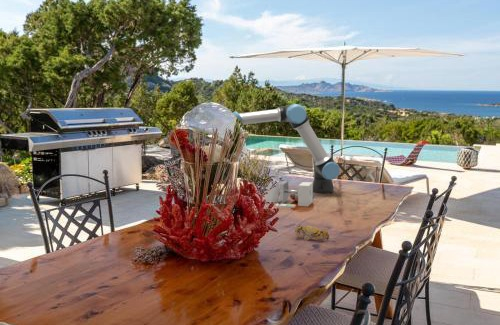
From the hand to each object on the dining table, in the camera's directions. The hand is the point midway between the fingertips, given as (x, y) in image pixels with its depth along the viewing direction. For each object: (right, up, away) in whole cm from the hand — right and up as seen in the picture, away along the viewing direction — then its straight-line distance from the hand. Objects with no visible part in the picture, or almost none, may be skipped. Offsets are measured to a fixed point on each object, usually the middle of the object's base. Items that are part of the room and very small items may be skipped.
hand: (257, 171), depth 282 cm
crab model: (+24, -28, -75) cm, 84 cm away
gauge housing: (+22, -19, -9) cm, 30 cm away
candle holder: (+9, -18, -1) cm, 20 cm away
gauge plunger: (+19, -18, -7) cm, 28 cm away
